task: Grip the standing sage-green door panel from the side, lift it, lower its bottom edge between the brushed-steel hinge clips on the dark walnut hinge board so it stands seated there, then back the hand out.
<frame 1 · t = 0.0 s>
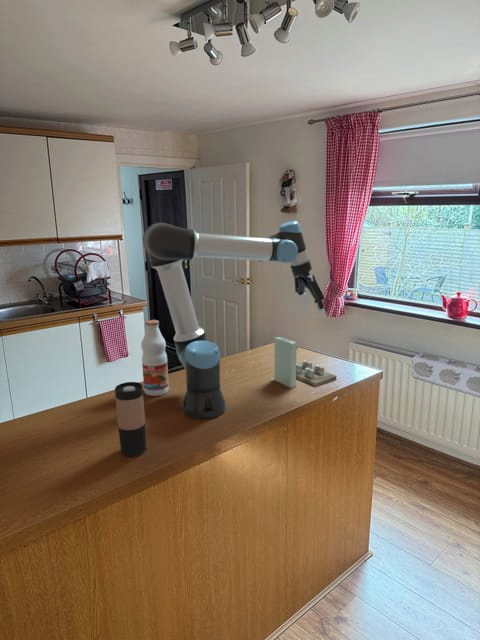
hand: (314, 312, 172), 28 cm above the countertop, tool tilted 20°, fingers open, 13 cm apart
travel mug: (133, 451, 127), on the countertop
door: (284, 383, 174), on the countertop
hinge base: (308, 375, 182), on the countertop
fruit juice: (156, 391, 168), on the countertop
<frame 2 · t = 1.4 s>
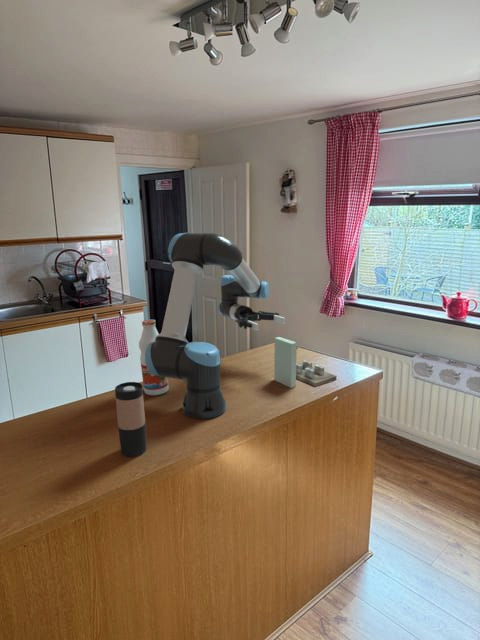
hand: (271, 324, 175), 23 cm above the countertop, tool horizontal, fingers open, 13 cm apart
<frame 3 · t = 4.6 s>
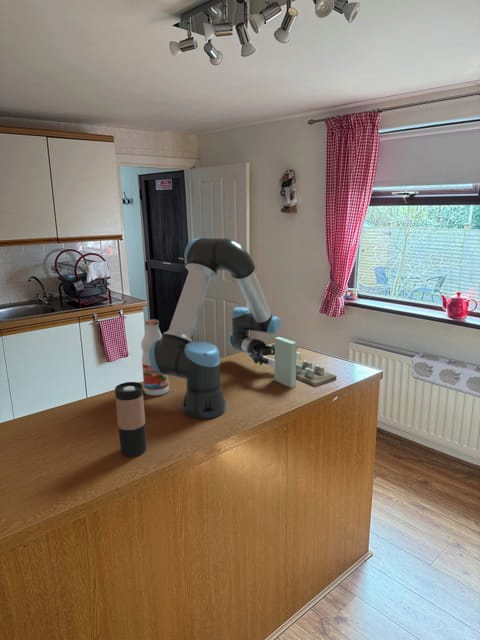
hand: (287, 360, 171), 10 cm above the countertop, tool horizontal, fingers open, 13 cm apart
fruit juice: (156, 391, 168), on the countertop, touching arm
everything else where it was.
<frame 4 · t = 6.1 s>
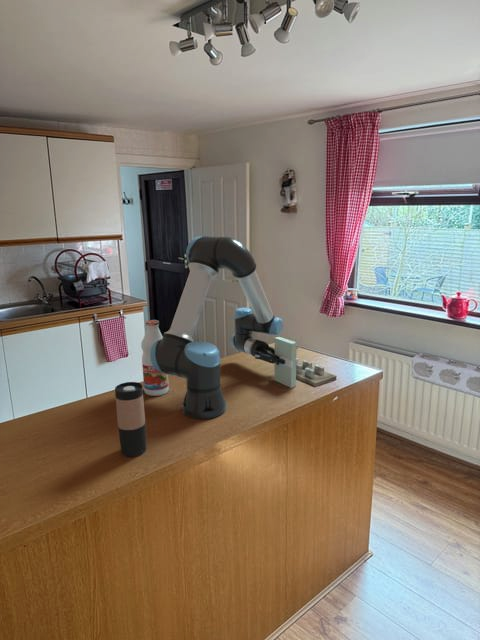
hand: (294, 363, 168), 10 cm above the countertop, tool horizontal, fingers closed on door, 2 cm apart
door: (284, 383, 174), on the countertop, touching gripper
fruit juice: (156, 391, 168), on the countertop
everything else where it was.
when the fingers open (13 cm above the countertop, at t = 10.3 s): door drops 1 cm, resting on hinge base.
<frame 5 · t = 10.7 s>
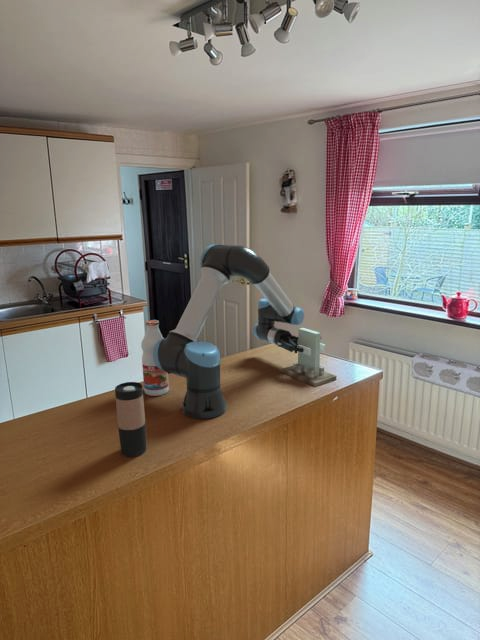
hand: (317, 350, 175), 12 cm above the countertop, tool horizontal, fingers open, 8 cm apart
door: (308, 372, 182), point 1 cm above the countertop, touching hinge base
everything else where it was.
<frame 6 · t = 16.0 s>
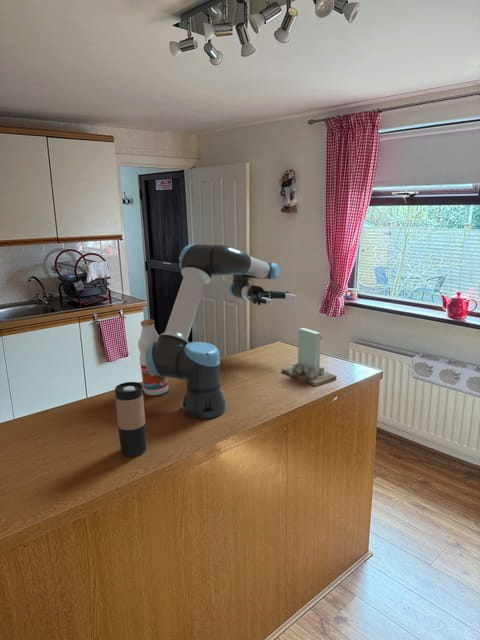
hand: (284, 300, 184), 30 cm above the countertop, tool horizontal, fingers open, 13 cm apart
fruit juice: (156, 391, 168), on the countertop, touching arm
everything else where it was.
at the end: door 0.0 cm off-centre on the hinge base, point 1.5 cm above the hinge base's base; door tilted 0°; the gripper is holding nothing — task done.
